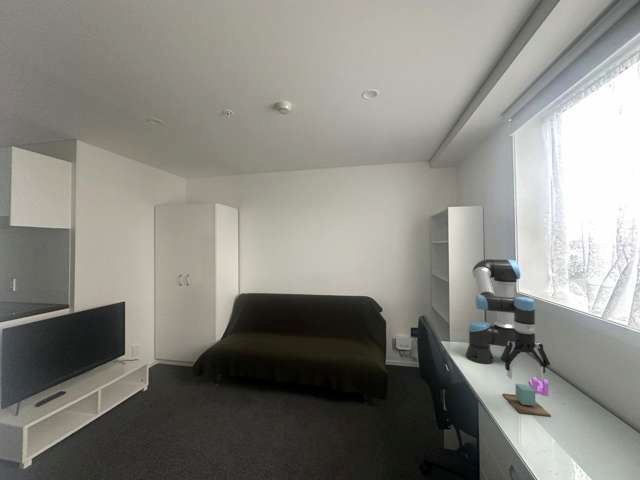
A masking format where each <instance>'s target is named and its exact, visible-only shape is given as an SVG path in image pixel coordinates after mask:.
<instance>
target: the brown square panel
mask: <svg viewBox="0 0 640 480" xmlns="http://www.w3.org/2000/svg"><path fill="white" fill-rule="evenodd" d="M502 396H503V397H504V398H505V400H506V401H507V400H508V401H507V402H508V403H509V404H510V405H511V406H512V407H513V408H514V410H516V412H517V413H518V414H520V415H529V416H539V417H547V418H548V417H549V418H551V416H552V415H551V413H549V412H548V411H547V410H546V409H545V408H544V407H543V406H542V405H541V404H539V402H537V401H536V400H535V406H533V405H523V404H521V403H520V402H519V401H518V400H517V399H516V394H511V393H502Z"/></svg>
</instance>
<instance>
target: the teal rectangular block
mask: <svg viewBox="0 0 640 480" xmlns="http://www.w3.org/2000/svg"><path fill="white" fill-rule="evenodd" d="M515 395H516V399H517V400H518V401H519V402H520V403H521V404H523V405H533V406H535V401H536V393H535V390H534V389H532V387H531V385H530V384H525V383H515Z"/></svg>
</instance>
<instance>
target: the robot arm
mask: <svg viewBox="0 0 640 480" xmlns="http://www.w3.org/2000/svg"><path fill="white" fill-rule="evenodd" d="M472 276H473V277H474V279H475V282H476V283H475V284H476V288H477V292H478V293H477V295H475V307H476V309H477V310H481V311H490V312H496V321H494V323H493V325H491V323H489V322H487V321H479V320H477V321H476V320H475V321H472V322H470V323H469V325H468V345H467V349H466V352H465V357H466V359H468V360H470V361H473V362H474V363H478V364H484V365H488V364H489V365H490V364H493V363H494V355H493V353H492V349H491V346H492V345H493V346H499V347H504V350H503V352H502V353H501V356H500V358H499V359H500V360H501V361H502V362H503V363H504V369H505V370H506V376H507V377H508V378H509V379H511V380H512V379H513V364H512V362H513V361H514V360H515V358H516V357H517V356H518V355H519V354H521V353H528V354H531V355H532V356H533V358H535V360H536V361H537V364H536V367H537V370H536V371H537V372H536V373H537V374H536V375H537V377H536V378H537V380H538V381H540V382H543V379H544V374H545V373H546V368H547V366H551V363H550V361H549V359H548V356H547V355H546V352H545V350H544V345H543V344H542V343H540V341H537V342H536V334H535V332H536V318H535V317H536V305H535V303H536V302H535V299H533V298H530V297H526V296H515V293H514V290H515V288H514V286H515V284H516V283H517V282H518V280H520V279H521V269H520V266H519V263H518V262H517V261H516V260H513V259H490V258H488V259H482V260H481V261H478V262H477V263H476V264H475V265H474V266H473V268H472ZM491 279H493V282H495V283H496V294H495V291H494V290H495V289H494V287H493V283H492V280H491ZM535 348H536V349H537V351H538V353H539V355H538V354H537V352H536V350H534V349H535Z"/></svg>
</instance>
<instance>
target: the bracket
mask: <svg viewBox="0 0 640 480" xmlns="http://www.w3.org/2000/svg"><path fill="white" fill-rule="evenodd" d="M528 383H529V386H530V387H531V388H532V389H534V390H535V394H539V395H543V396H547V397H548V396H549V381H548V379H545V378H543V381H540V380H539V379H538V378H537V377H536V376H532V378H530V379H528Z"/></svg>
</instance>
